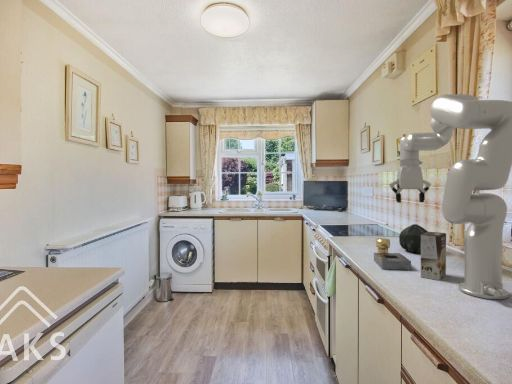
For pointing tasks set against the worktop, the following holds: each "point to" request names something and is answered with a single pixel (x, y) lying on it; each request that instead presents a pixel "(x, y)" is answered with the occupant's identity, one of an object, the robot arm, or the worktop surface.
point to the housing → (392, 261)
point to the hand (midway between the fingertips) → (410, 202)
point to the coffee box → (433, 255)
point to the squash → (412, 238)
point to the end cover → (382, 245)
